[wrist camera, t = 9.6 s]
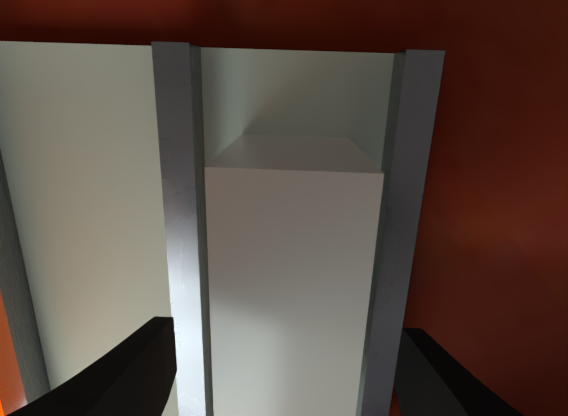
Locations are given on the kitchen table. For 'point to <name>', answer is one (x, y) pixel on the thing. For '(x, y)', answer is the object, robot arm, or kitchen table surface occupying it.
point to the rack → (178, 193)
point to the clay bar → (289, 273)
